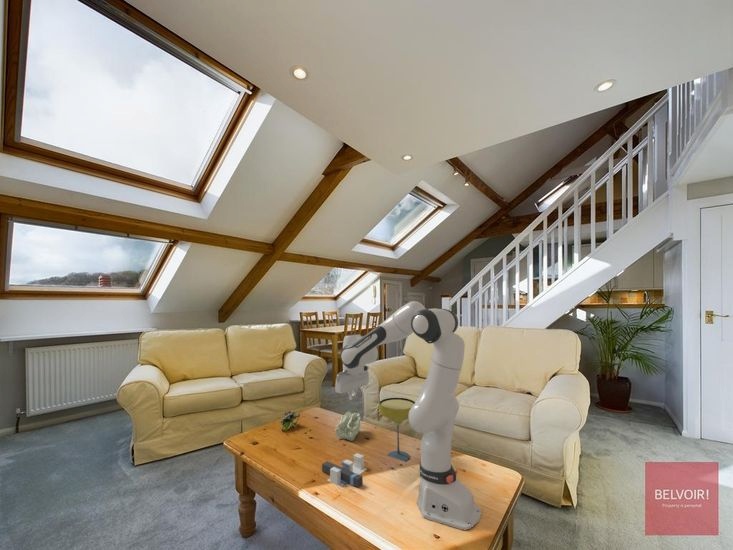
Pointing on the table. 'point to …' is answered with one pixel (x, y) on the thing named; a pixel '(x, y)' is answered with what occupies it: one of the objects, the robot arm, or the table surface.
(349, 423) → the folded clay sculpture
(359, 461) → the grey and blue pillars
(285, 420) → the passion flower
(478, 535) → the table surface
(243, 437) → the table surface
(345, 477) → the long dark grey plank
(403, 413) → the cocktail glass
